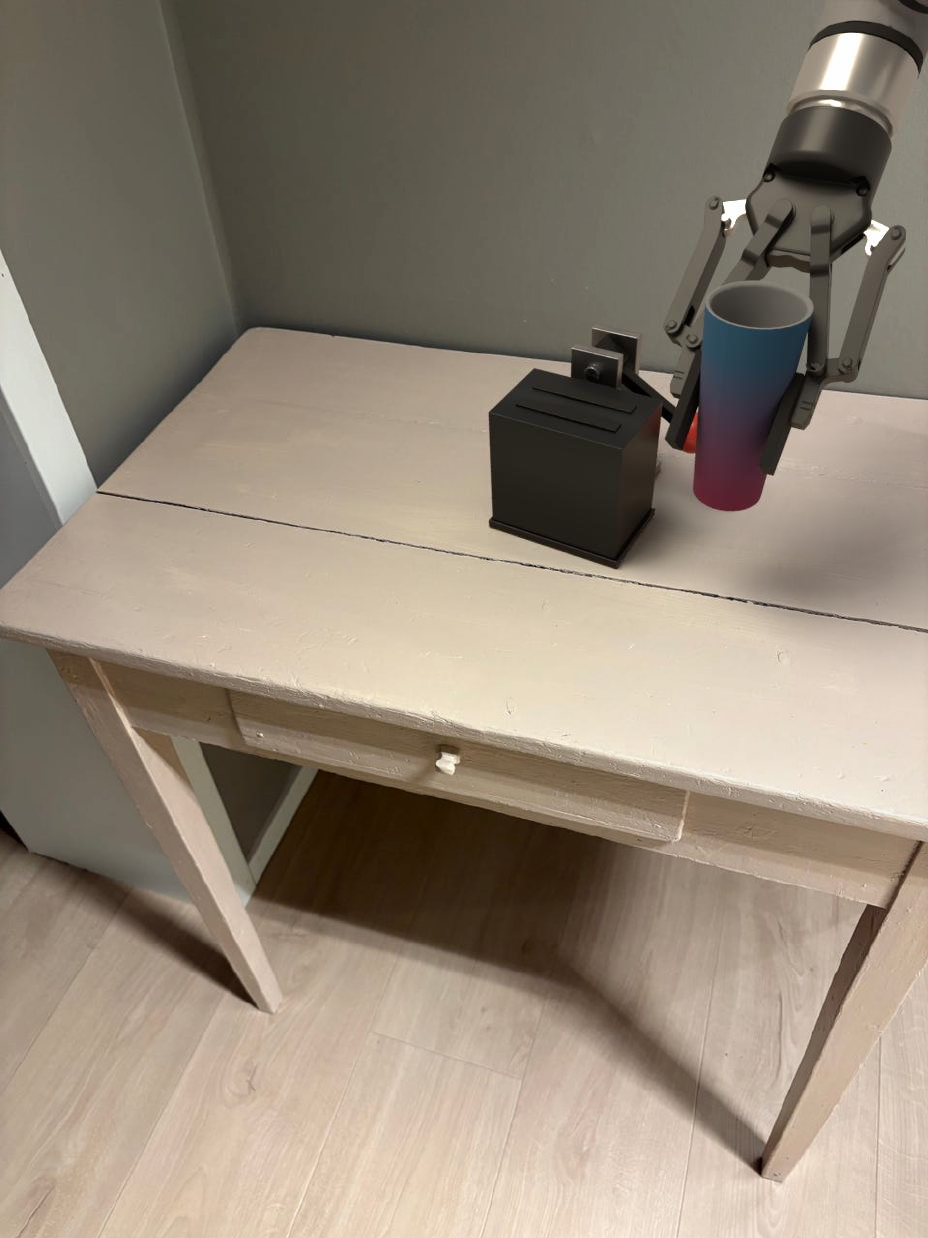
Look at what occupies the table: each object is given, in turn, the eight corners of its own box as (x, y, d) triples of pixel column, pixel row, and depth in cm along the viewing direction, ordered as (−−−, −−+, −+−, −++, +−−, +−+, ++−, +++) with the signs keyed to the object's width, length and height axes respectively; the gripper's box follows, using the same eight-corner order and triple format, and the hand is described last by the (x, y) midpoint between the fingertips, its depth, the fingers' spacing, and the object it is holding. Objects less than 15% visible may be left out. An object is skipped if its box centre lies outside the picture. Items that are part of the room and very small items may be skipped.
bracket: (660, 469, 92) (675, 337, 82) (635, 503, 88) (647, 369, 79) (567, 443, 96) (570, 314, 86) (539, 474, 92) (539, 343, 83)
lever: (704, 447, 86) (728, 423, 84) (689, 468, 84) (714, 443, 81) (592, 353, 86) (613, 325, 84) (574, 372, 84) (595, 343, 81)
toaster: (654, 515, 87) (667, 398, 79) (616, 569, 82) (625, 450, 74) (532, 478, 92) (532, 364, 84) (488, 526, 87) (483, 410, 79)
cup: (715, 454, 76) (744, 270, 65) (791, 488, 72) (834, 300, 62) (662, 493, 73) (684, 306, 62) (739, 531, 69) (776, 339, 58)
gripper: (982, 178, 64) (859, 505, 66) (712, 141, 72) (607, 436, 74) (994, 117, 58) (856, 484, 59) (694, 84, 65) (579, 409, 67)
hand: (719, 456), depth 66 cm, fingers closed on cup, 6 cm apart
